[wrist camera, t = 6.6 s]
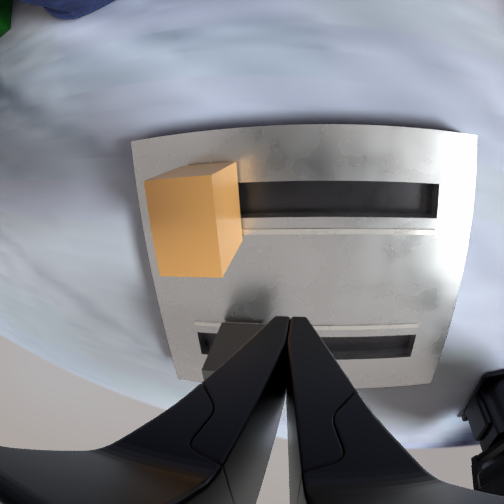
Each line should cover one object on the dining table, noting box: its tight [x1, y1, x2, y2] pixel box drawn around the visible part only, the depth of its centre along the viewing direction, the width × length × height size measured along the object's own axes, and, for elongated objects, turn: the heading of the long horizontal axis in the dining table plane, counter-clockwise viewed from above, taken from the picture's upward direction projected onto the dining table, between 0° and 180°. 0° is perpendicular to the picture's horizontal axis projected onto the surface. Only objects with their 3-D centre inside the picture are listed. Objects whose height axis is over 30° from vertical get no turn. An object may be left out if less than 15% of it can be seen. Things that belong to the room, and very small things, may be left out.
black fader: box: [202, 323, 266, 380], centre depth 19 cm, size 3×4×6 cm
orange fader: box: [144, 162, 243, 278], centre depth 16 cm, size 3×4×6 cm
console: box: [131, 124, 477, 388], centre depth 20 cm, size 20×18×2 cm
